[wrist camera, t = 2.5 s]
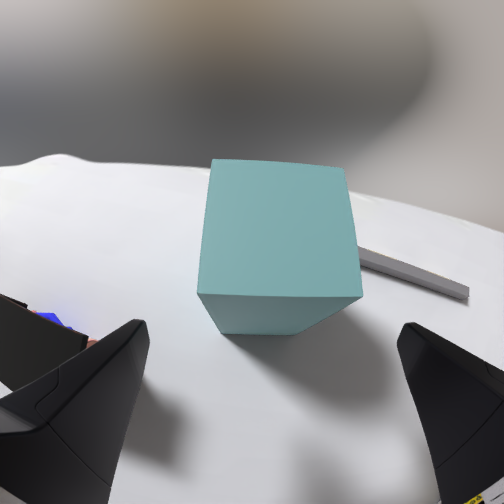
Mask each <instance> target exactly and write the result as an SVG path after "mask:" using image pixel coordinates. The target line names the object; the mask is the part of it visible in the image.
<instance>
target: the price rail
mask: <svg viewBox="0 0 504 504" xmlns="http://www.w3.org/2000/svg"><path fill="white" fill-rule="evenodd" d="M357 247H358V254H359V262H360V265H361V266H364V267H367V268H370V269H373V270H376V271H379V272H382V273H385V274H388V275H391V276H394V277H397V278H400V279H403V280H406V281H409V282H412V283H415V284H418V285H421V286H424V287H426V288H429V289H432V290H435V291H438V292H441V293H444V294H446V295H449V296H452V297H455V298H458V299H461V300H463V299H465V298H467V297H469V287H467V286H465V285H462V284H460V283H457V282H455V281H452V280H449V279H448V278H445V277H443V276H440V275H438V274H435V273H432V272H430V271H426V270H423V269H421V268H418V267H415V266H412V265H410V264H407V263H404V262H402V261H399V260H397V259H394V258H392V257H389V256H386V255H383V254H380V253H377V252H375V251H372V250H369V249H365V248H362V247H359V246H357Z"/></svg>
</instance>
